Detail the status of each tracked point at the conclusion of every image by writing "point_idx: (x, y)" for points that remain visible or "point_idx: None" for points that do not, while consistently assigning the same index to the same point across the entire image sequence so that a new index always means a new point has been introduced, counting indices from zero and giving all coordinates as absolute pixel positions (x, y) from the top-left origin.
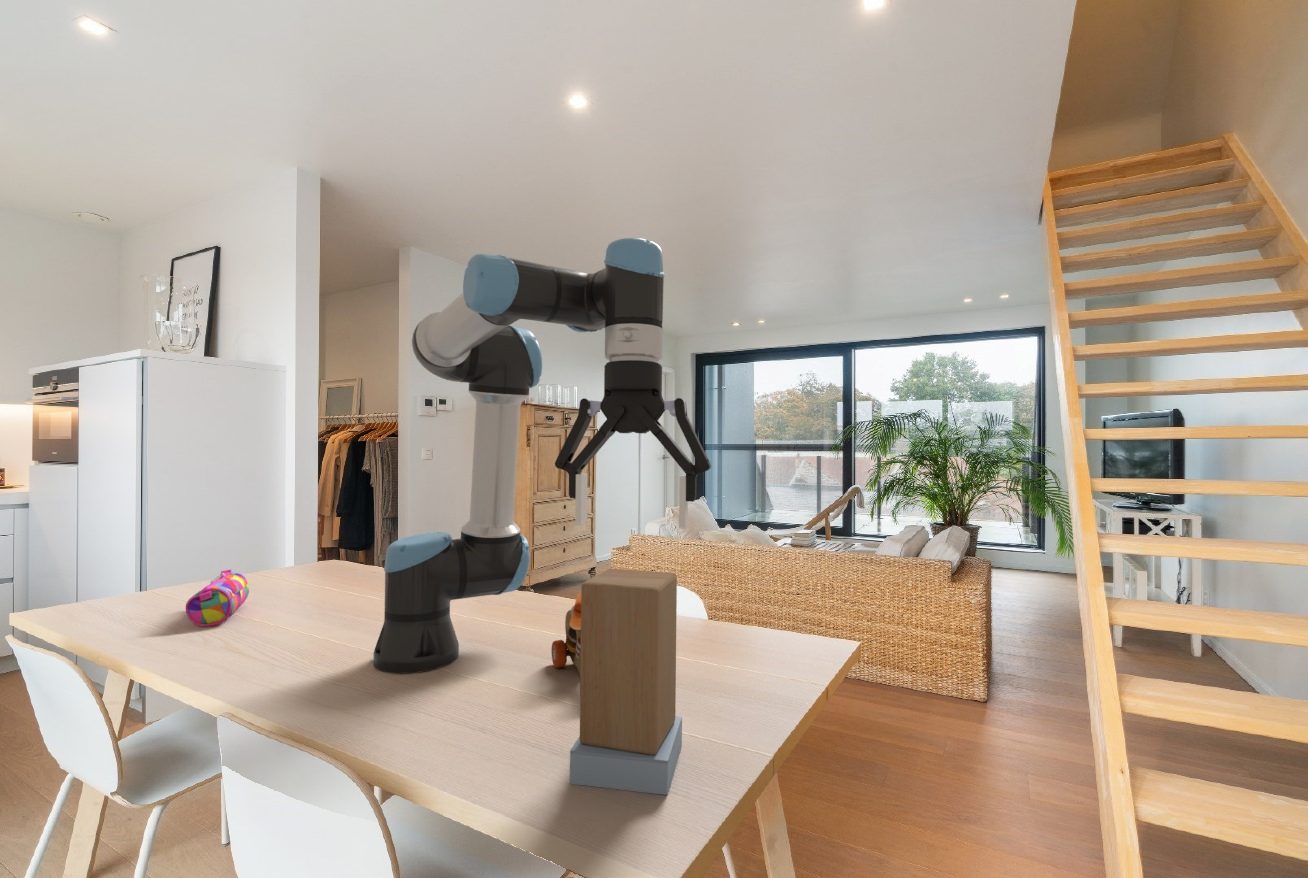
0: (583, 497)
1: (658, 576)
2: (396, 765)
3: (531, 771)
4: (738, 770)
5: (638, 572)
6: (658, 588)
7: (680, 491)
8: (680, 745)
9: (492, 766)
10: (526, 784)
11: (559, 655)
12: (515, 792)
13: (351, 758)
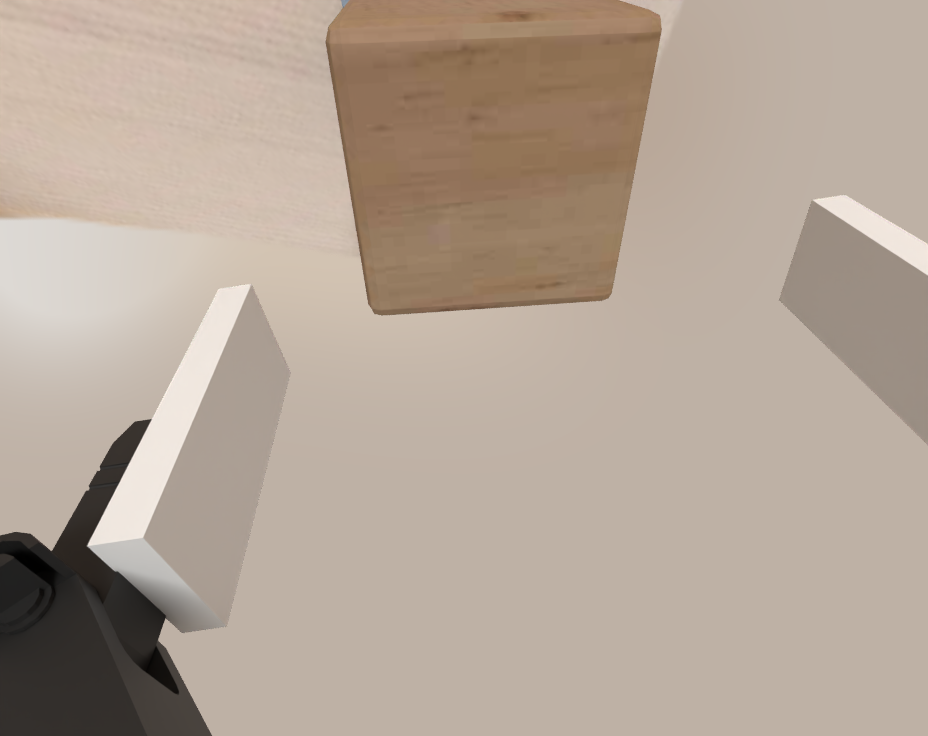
0: (243, 445)
1: (595, 138)
2: (92, 209)
3: (303, 147)
4: (649, 7)
5: (498, 89)
6: (613, 282)
7: (920, 428)
8: None
9: (233, 156)
10: (321, 184)
11: None
12: (321, 208)
13: (4, 217)
